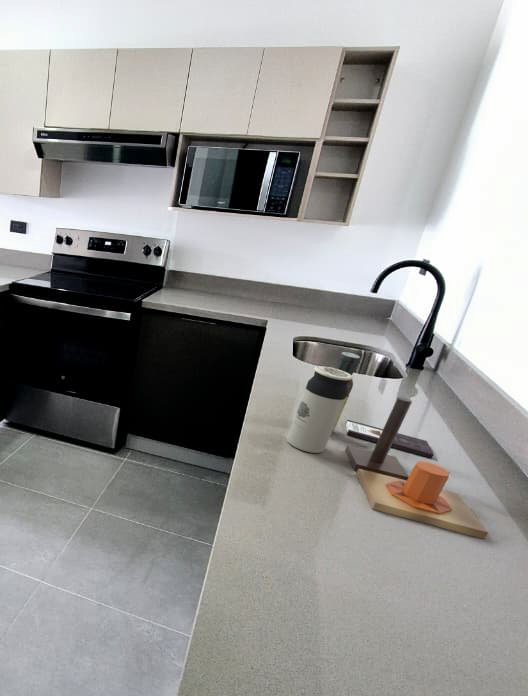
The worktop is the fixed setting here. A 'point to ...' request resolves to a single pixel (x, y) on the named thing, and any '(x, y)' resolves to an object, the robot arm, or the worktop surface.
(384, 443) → the hat stand
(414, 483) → the hat
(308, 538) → the worktop surface
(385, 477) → the oak board
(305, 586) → the worktop surface
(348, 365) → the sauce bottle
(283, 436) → the worktop surface
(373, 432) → the chocolate bar
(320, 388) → the travel mug
